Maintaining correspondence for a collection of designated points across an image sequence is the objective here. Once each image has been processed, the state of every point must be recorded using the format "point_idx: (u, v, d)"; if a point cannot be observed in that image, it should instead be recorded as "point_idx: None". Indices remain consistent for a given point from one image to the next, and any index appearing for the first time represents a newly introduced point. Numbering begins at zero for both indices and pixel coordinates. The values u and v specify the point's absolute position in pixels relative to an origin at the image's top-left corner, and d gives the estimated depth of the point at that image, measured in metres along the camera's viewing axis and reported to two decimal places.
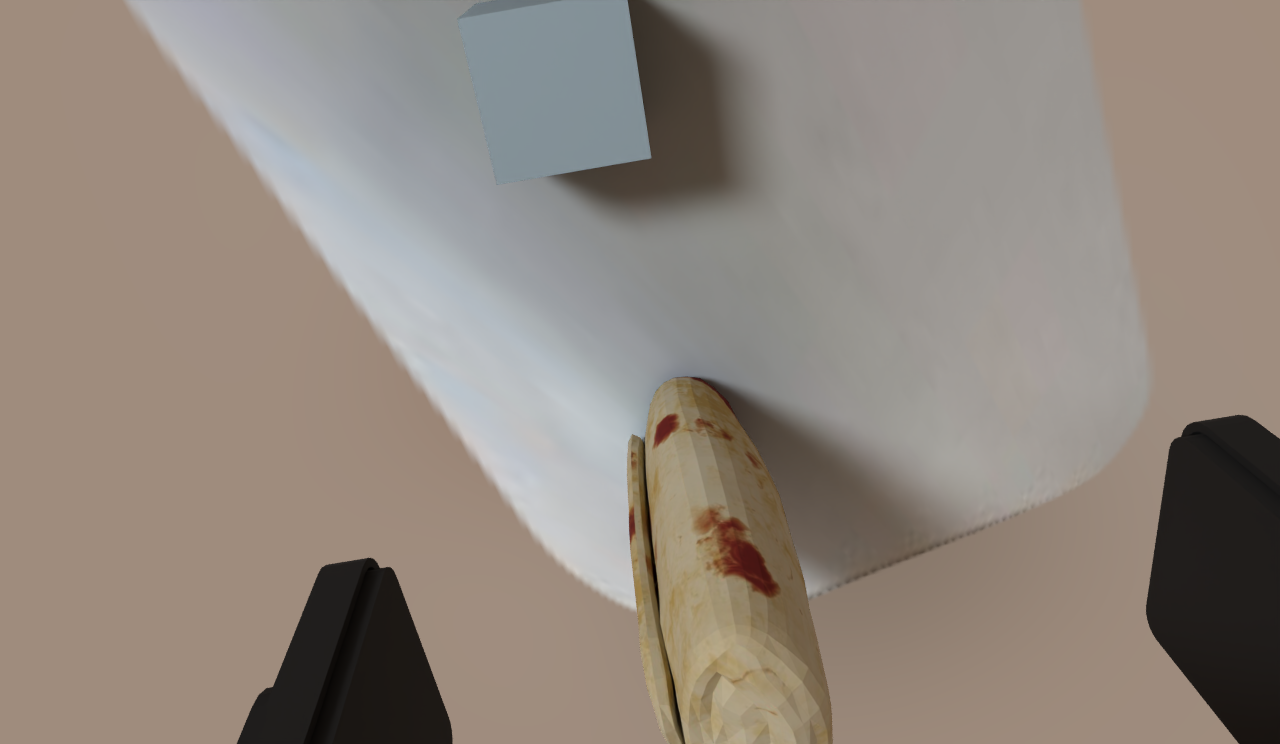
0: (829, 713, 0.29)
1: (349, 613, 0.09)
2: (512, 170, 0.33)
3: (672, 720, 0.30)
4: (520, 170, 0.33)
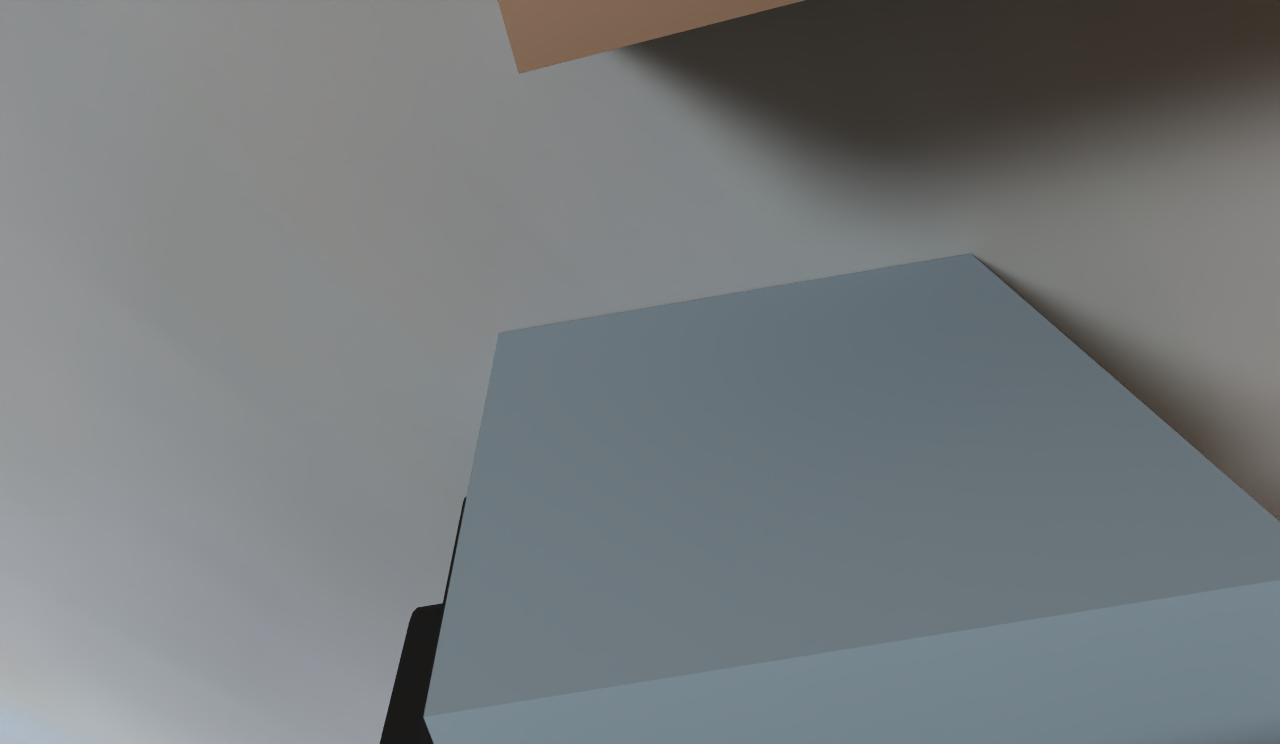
0: None
1: None
2: None
3: None
4: None
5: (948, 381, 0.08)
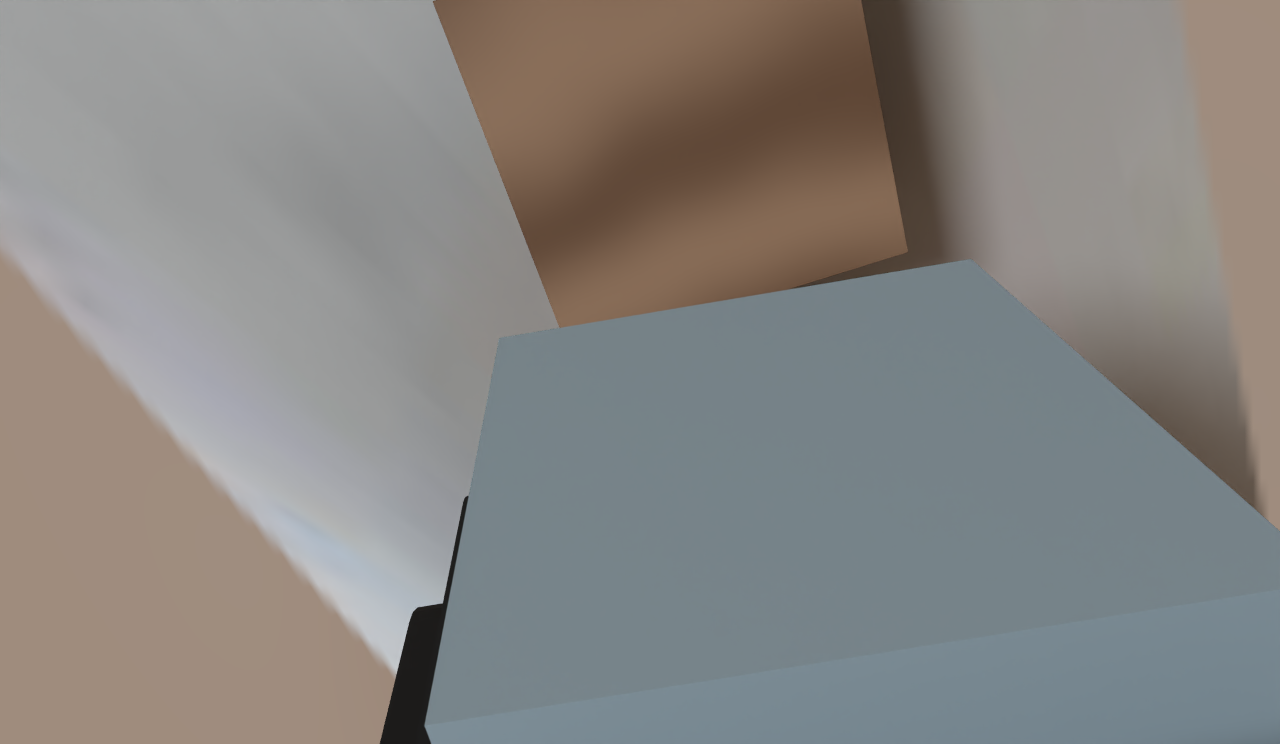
0: None
1: None
2: None
3: None
4: None
5: (948, 387, 0.08)
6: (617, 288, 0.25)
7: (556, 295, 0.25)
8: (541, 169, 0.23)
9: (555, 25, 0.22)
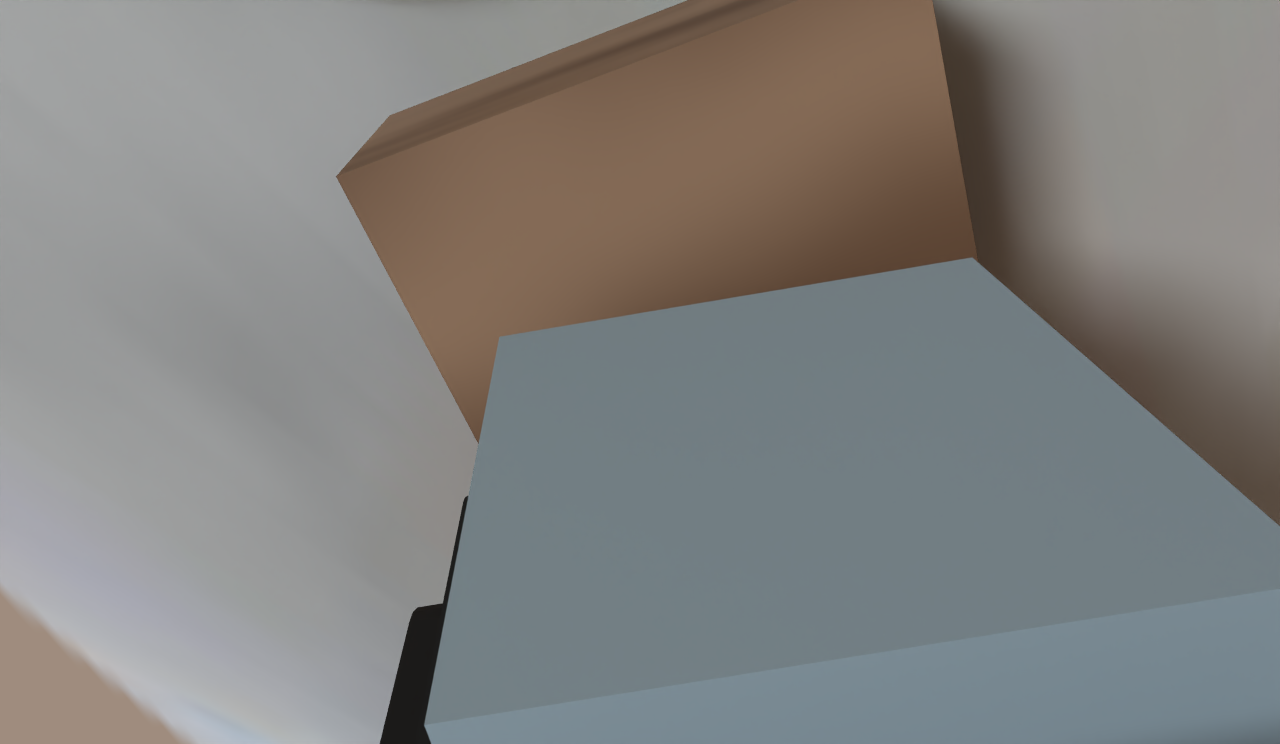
0: None
1: None
2: None
3: None
4: None
5: (950, 386, 0.08)
6: None
7: None
8: None
9: (517, 199, 0.15)
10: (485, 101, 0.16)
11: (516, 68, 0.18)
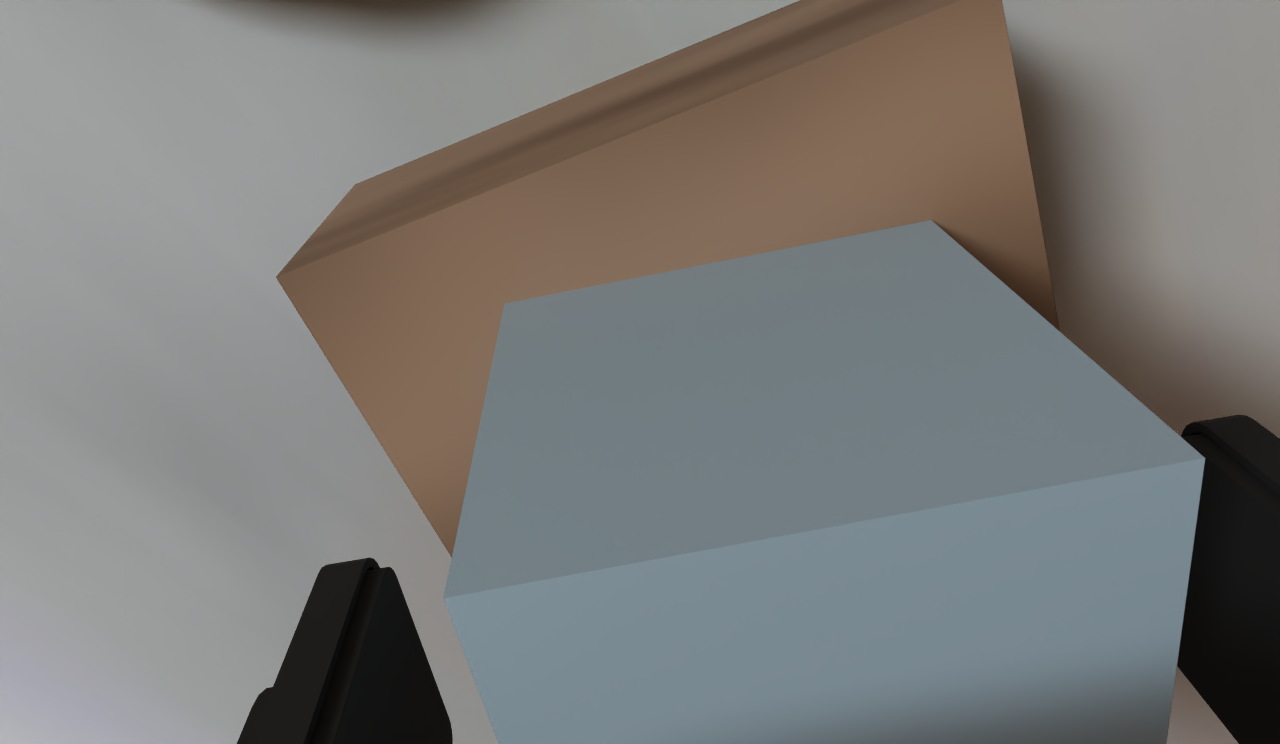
0: None
1: (349, 613, 0.09)
2: None
3: None
4: None
5: (899, 325, 0.10)
6: None
7: None
8: None
9: (498, 297, 0.12)
10: (460, 174, 0.13)
11: (500, 126, 0.16)
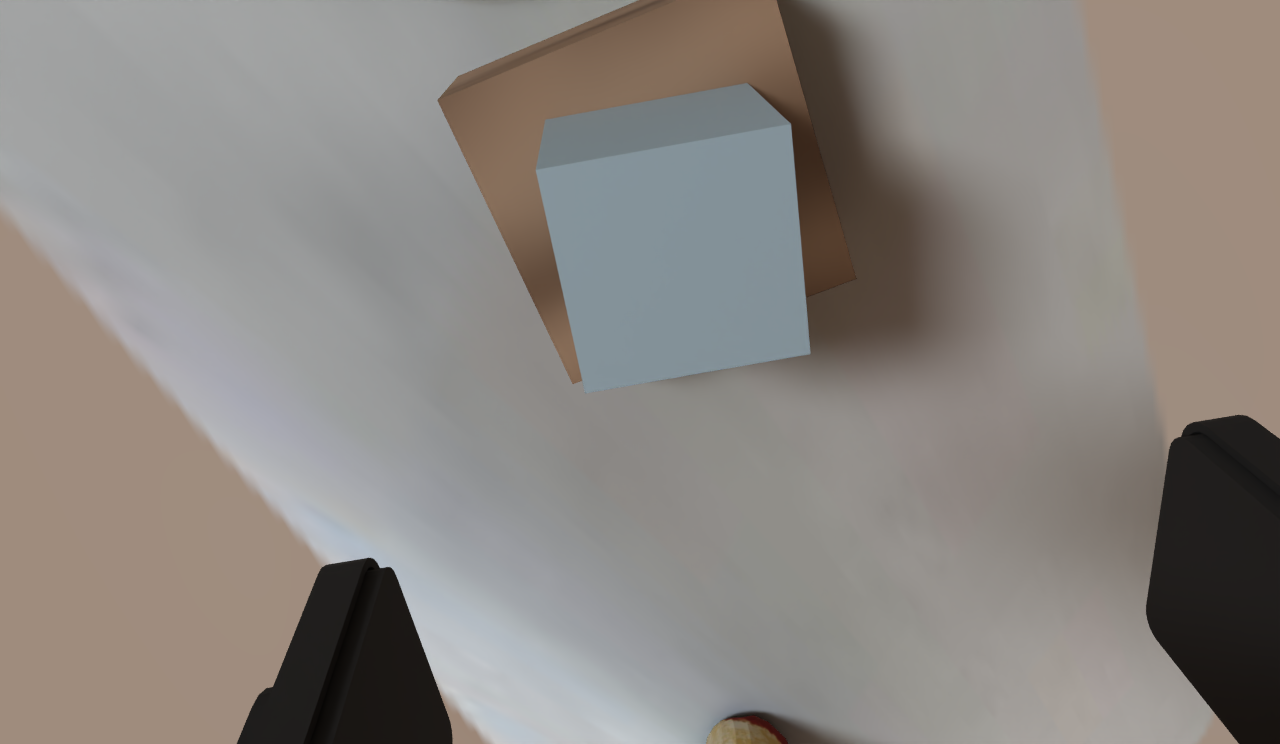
0: None
1: (349, 613, 0.09)
2: (608, 374, 0.23)
3: None
4: (620, 373, 0.23)
5: (714, 109, 0.23)
6: None
7: (556, 333, 0.29)
8: (537, 230, 0.27)
9: (540, 112, 0.26)
10: (520, 58, 0.27)
11: (538, 43, 0.29)
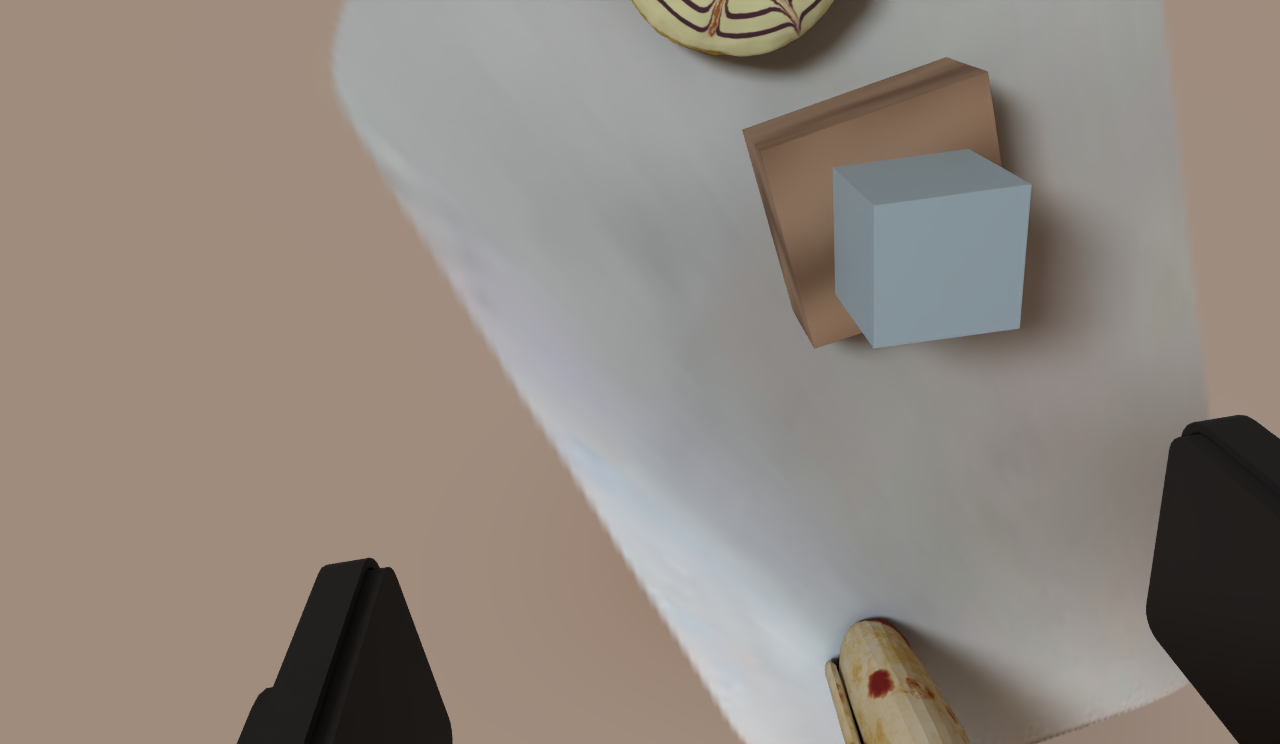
0: None
1: (349, 613, 0.09)
2: (891, 336, 0.36)
3: None
4: (898, 336, 0.36)
5: (963, 169, 0.36)
6: None
7: (809, 312, 0.41)
8: (809, 240, 0.40)
9: (826, 162, 0.38)
10: (806, 123, 0.39)
11: (802, 109, 0.42)
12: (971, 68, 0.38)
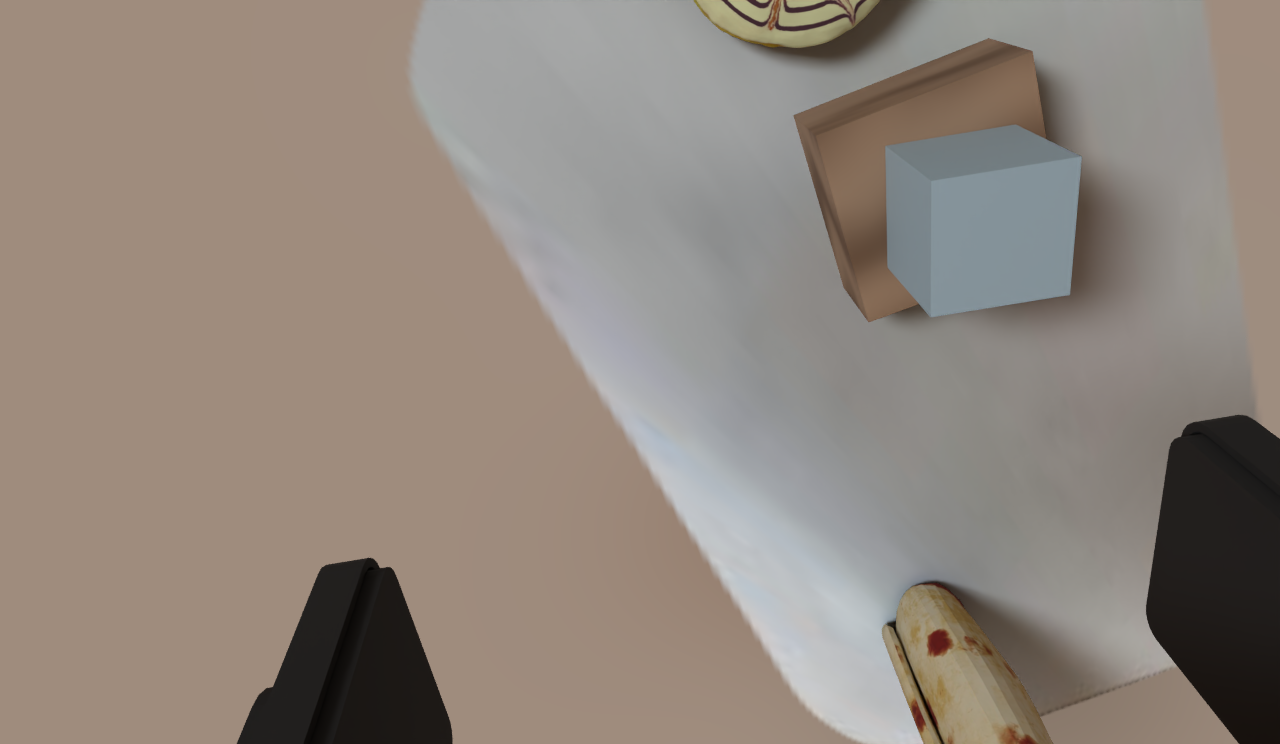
0: None
1: (349, 613, 0.09)
2: (947, 305, 0.38)
3: None
4: (954, 305, 0.38)
5: (1013, 144, 0.38)
6: (898, 281, 0.43)
7: (864, 287, 0.43)
8: (863, 219, 0.42)
9: (878, 143, 0.40)
10: (857, 107, 0.41)
11: (851, 94, 0.44)
12: (1015, 48, 0.40)
